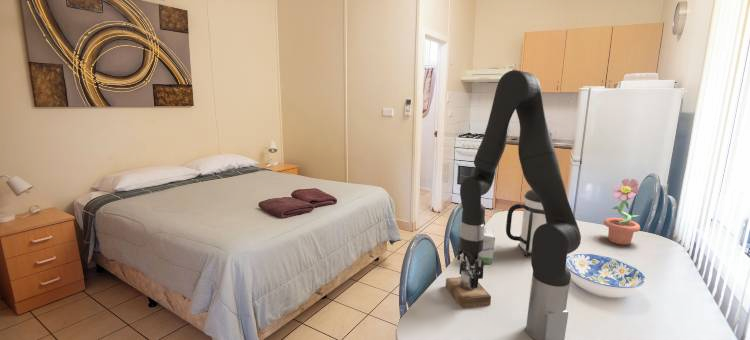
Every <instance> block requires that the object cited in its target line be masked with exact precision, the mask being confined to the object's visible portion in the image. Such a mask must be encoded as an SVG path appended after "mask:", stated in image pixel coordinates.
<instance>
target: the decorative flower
mask: <svg viewBox="0 0 750 340" xmlns="http://www.w3.org/2000/svg"><path fill="white" fill-rule="evenodd" d="M621 183H622V184H621V185H618V184H616V185H614V186H613V192H615V193H613V197H614V198H615V199H618V201H621V202H620V204H619V206H618V205H616V206H613V207H612V208H611V209H612V210H617V213H618V214H619V215H620V216H621V217H608V218H606V219H604V221H603V224H604V226H605V227H607V228H608V240H609V241H610V242H612V243H614V244H617V245H622V246H623V245H624V246H626V245H630V244H631V242H632V240H633V235H634V233H635V232H636V233H637V232H639V231H641V225H640V224H638V222H635V221H633V220H632V218H635V217H638V216H640V215H639V214H633V215H631V214H629V213H627V212H625V211H623V209H624V207H626V208H627V210H630V209H629V207H630V206H629V203H628V201H629V200H631V199H633V198H634V197H635V196H637V193H638V192H639V189H640V185H639V181H638V180H636V179H635V178H632V179H630V178H623V179H622V180H621ZM622 217H624V218H622Z"/></svg>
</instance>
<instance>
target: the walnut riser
mask: <svg viewBox="0 0 750 340" xmlns="http://www.w3.org/2000/svg"><path fill="white" fill-rule="evenodd" d="M460 281H461V276H459V277H449V278H445V287H446V289H447V290H448V292H449V293H450V294H451V296H452V297H453V299H454V300H455V302H456V303H457V304H458V306H459V307H460V309H461V308H463V309H464V308H473V307H481V306H482V307H483V306H491V301H492V300H491V299H492V296H491V294H490V293H489V292H488V291H487V290H486V289H485V288H484V287H483V286H482V284H480V282H479V281H478V287H477V288H475V290H472V291H468V290H464V289H462V288H461V287H460Z"/></svg>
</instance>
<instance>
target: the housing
mask: <svg viewBox="0 0 750 340" xmlns="http://www.w3.org/2000/svg"><path fill="white" fill-rule="evenodd" d="M473 272H474V270H473ZM460 277H461V281H460V287H461V288H462V289H464V290H468V291H472V290H475V288H473V289H472V288H471V287H470V284H471V272H470V271H469V270H468V268H467V269H464V270H462V271H461V275H460Z"/></svg>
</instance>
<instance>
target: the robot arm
mask: <svg viewBox="0 0 750 340" xmlns="http://www.w3.org/2000/svg"><path fill="white" fill-rule="evenodd" d="M542 93H543V92H542V88H541V83H540V80H539V79H538V78H537V76H536V75H534V74H532V73H530V72H526V71H522V70H515V69H513V70H509V71H507V72H505V73H504V74H503V75H502V76H501V77H500V79H499V80H498V83H497V85H496V89H495V92H494V97H493V102H492V106H491V109H490V113H489V117H488V121H487V123H486V125H487V126H486V129H485V131H484V135H483V138H482V140H481V142H480V145H479V147H478V149H477V151H476V154H475V156H474V159H473V165H474V167H475V168H474V171H473V173H472V175H469V176H466V177H465V178H463V179H462V180H461V183H460V187H459V196H460V202H461V207H462V211H461V212H462V213H461V221H460V228H459V238H458V239H459V242H458V245H457V256H456V261H458V263H459V275H460V276H461V271H462V270H464V269H468V270H469V271H470V272H471V284H470V287H471V288H472V289H473V288H477V287H478V282H479V280H480V279H482V280H483V278H484V264H485V263H484V261H483V260H479V256H478V254H479V253H480V252H481V251H482V250H483V241H484V229H485V220H486V219H485V218H486V208H485V206H484V205H483V204H482V196H484V195H486V194H487V193H488V192H490V190H491V188H492V186H493V183H494V180H495V174H496V169H497V167H498V165H499V163H500V161H501V158H502V156H503V155H504V151H505V149H506V146H507V145H506V144H507V139H508V138H507V137H508V130H509V126H510V123H511V122H510V121H511V118H512V116H513V115H514V113H515V111H516V114H517V118H518V122H519V136H518V137H519V138H518V147H517V148H518V149H517V150H518V153H517V154H518V159H519V163H520V167H521V170H522V174H523V176H524V179H525V181H526V183H527V184H528V185H529V187H530V189H532V190H533V191H534V192H535V194H536V195H537V196H538V198H539V200H540V201H541V204H542V206H543V209H544V213H545V218H546V223H545V224H543V225H540V226H539V227H538V228H537V229H536V230H535V232H534V235H533V241H532V253H530V254H531V257H530V264H531V265H530V266H531V268H532V275H531V276H532V277H531V285H530V291H529V298H528V308H527V309H528V311H527V316H526V327H525V330H526V333H527V335H528V336H529V337H531V338H532V339H533V340H565V338H566V332H567V325H568V316H569V311H568V310H567V305H568V297H569V291H570V285H571V284H570V283H571V277H572V273H571V271H570V270H569V268H567V257H568V255H569V254H571V253H573V252H575V251H576V250H577V249H579V247H580V245H581V241H582V236H581V231H580V228H579V225H578V223H577V221H576V217H575V216H574V212H573V210H572V207H571V205H570V202H569V199H568V196H567V195H568V194H567V192H566V187H565V184H564V180H563V176H562V173H561V172H562V171H561V168H560V164H559V160H558V156H557V153H556V149H555V146H554V142H553V140H552V136H551V131H550V128H549V125H548V121H547V118H546V113H545V108H544V106H545V105H544V101H543V94H542ZM473 271H474V272H473Z"/></svg>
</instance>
